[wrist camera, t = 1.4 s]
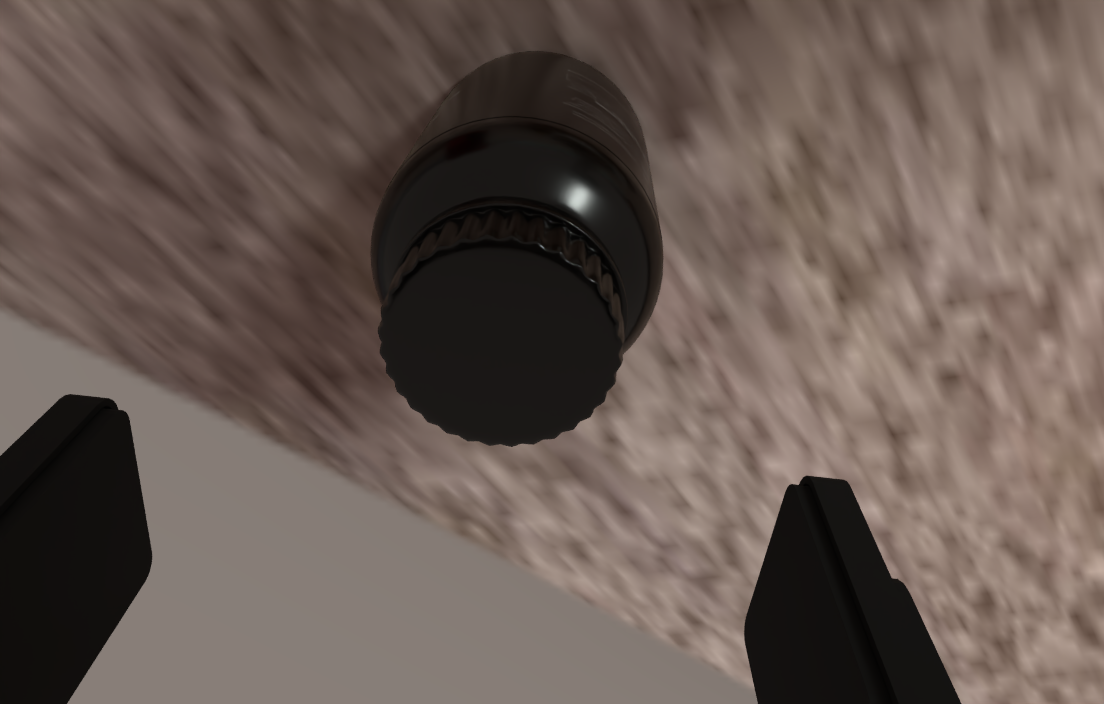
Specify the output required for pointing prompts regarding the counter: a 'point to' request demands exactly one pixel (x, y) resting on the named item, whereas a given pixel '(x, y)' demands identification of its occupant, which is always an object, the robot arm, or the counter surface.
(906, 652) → the robot arm
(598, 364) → the supplement bottle
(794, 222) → the counter surface
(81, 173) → the counter surface
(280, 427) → the counter surface
